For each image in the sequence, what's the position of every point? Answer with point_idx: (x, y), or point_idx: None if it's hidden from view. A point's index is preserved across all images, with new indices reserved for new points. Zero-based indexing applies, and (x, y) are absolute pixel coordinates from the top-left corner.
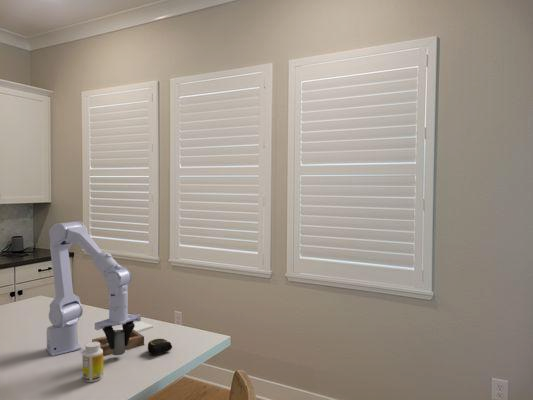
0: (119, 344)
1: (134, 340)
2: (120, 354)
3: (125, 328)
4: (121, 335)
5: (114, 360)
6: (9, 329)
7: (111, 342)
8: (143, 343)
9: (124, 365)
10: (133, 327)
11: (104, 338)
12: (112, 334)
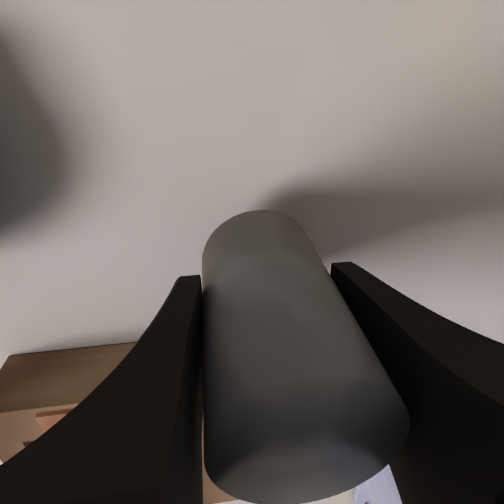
0: (291, 265)
1: (74, 393)
2: (260, 211)
3: (189, 496)
4: (290, 349)
5: (292, 214)
6: None
7: (401, 297)
8: (8, 365)
9: (265, 52)
10: (7, 474)
11: None
12: (487, 371)
